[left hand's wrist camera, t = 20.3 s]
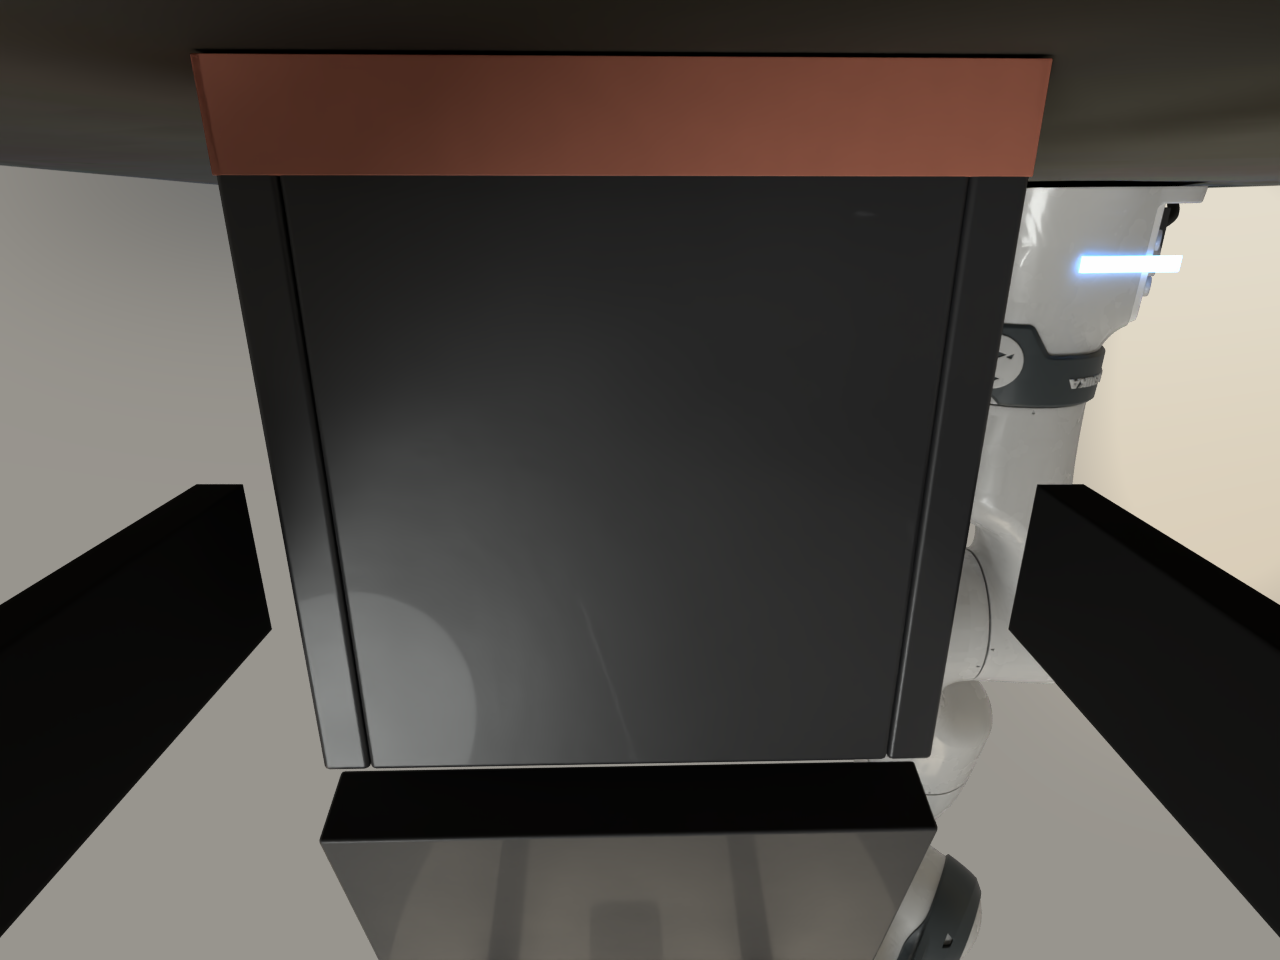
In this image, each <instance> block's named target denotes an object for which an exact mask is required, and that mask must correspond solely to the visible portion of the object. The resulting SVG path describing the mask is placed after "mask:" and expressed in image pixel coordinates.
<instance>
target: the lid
mask: <svg viewBox="0 0 1280 960" xmlns="http://www.w3.org/2000/svg"><path fill="white" fill-rule="evenodd" d="M936 831H937V825H936V822H935V819H934V816H933V813H932V811H931V808H930V805H929V802H928V799H927V797H926V794H925V791H924V788H923V786H922V783H921V780H920V777H919V774H918V772H917V769H916V766H915V763H914V762H912V761H888V762H834V763H779V764H725V765H671V766H618V767H562V768H507V769H453V770H399V771H345V772H342V774H341V776H340V779H339V782H338V785H337V788H336V791H335V794H334V797H333V801H332V804H331V807H330V810H329V813H328V816H327V819H326V822H325V825H324V828H323V831H322V834H321V837H320V844H321V846H322V848H323V850H324V852H325V854H326V856H327V858H328V860H329V862H330V864H331V866H332V868H333V870H334V872H335V874H336V876H337V878H338V880H339V882H340V884H341V886H342V888H343V890H344V892H345V894H346V896H347V898H348V900H349V902H350V904H351V906H352V908H353V910H354V912H355V914H356V916H357V917H358V920H359V921H360V924H361V925H362V928H363V930H364V931H365V933H366V935H367V937H368V939H369V941H370V943H371V945H372V947H373V949H374V951H375V953H376V955H377V957H378V959H379V960H874V958H875V956H876V954H877V952H878V950H879V948H880V946H881V944H882V942H883V940H884V938H885V936H886V934H887V932H888V930H889V928H890V926H891V924H892V922H893V920H894V917H895V915H896V913H897V911H898V909H899V907H900V905H901V903H902V901H903V899H904V897H905V895H906V893H907V891H908V889H909V887H910V885H911V883H912V881H913V879H914V877H915V874H916V872H917V870H918V868H919V866H920V864H921V862H922V860H923V858H924V856H925V854H926V852H927V850H928V848H929V846H930V844H931V841H932V840H933V838H934V836H935V833H936Z"/></svg>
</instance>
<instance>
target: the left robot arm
mask: <svg viewBox="0 0 1280 960" xmlns="http://www.w3.org/2000/svg"><path fill="white" fill-rule="evenodd" d="M271 630H272V628H271V623H270V618H269V613H268V608H267V603H266V598H265V593H264V588H263V583H262V578H261V573H260V568H259V563H258V558H257V553H256V548H255V543H254V538H253V533H252V528H251V523H250V518H249V513H248V508H247V503H246V498H245V493H244V488H243V485H242V484H196V485H195V486H193V487H191V488H190V489H188V490H187V491H185V492H183V493H182V494H180V495H178V496H177V497H175V498H173V499H172V500H170V501H169V502H167V503H165V504H164V505H162V506H160V507H159V508H157V509H156V510H154V511H152V512H151V513H149V514H148V515H146V516H144V517H143V518H141V519H139V520H138V521H136V522H134V523H133V524H131V525H130V526H128V527H126V528H125V529H123V530H121V531H120V532H118V533H117V534H115V535H113V536H112V537H110V538H108V539H107V540H105V541H104V542H102V543H100V544H99V545H97V546H95V547H94V548H92V549H90V550H89V551H87V552H86V553H84V554H82V555H81V556H79V557H78V558H76V559H74V560H73V561H71V562H69V563H68V564H66V565H65V566H63V567H61V568H60V569H58V570H56V571H55V572H53V573H52V574H50V575H48V576H47V577H45V578H43V579H42V580H40V581H39V582H37V583H35V584H34V585H32V586H30V587H29V588H27V589H25V590H24V591H22V592H21V593H19V594H17V595H16V596H14V597H12V598H11V599H9V600H8V601H6V602H4V603H3V604H1V605H0V937H1V936H2V935H3V934H4V933H5V931H6V930H7V929H8V928H9V927H10V926H11V925H12V923H13V922H14V921H15V920H16V919H17V918H18V917H19V915H20V914H21V913H22V912H23V911H24V910H25V909H26V907H27V906H28V905H29V904H30V903H31V902H32V901H33V900H34V898H35V897H36V896H37V895H38V894H39V893H40V892H41V891H42V889H43V888H44V887H45V886H46V885H47V884H48V883H49V881H50V880H51V879H52V878H53V877H54V876H55V875H56V874H57V872H58V871H59V870H60V869H61V868H62V867H63V866H64V864H65V863H66V862H67V861H68V860H69V859H70V858H71V856H72V855H73V854H74V853H75V852H76V851H77V850H78V849H79V847H80V846H81V845H82V844H83V843H84V842H85V841H86V840H87V838H88V837H89V836H90V835H91V834H92V833H93V832H94V830H95V829H96V828H97V827H98V826H99V825H100V824H101V822H102V821H103V820H104V819H105V818H106V817H107V816H108V815H109V813H110V812H111V811H112V810H113V809H114V808H115V807H116V805H117V804H118V803H119V802H120V801H121V800H122V799H123V798H124V796H125V795H126V794H127V793H128V792H129V791H130V790H131V788H132V787H133V786H134V785H135V784H136V783H137V782H138V781H139V779H140V778H141V777H142V776H143V775H144V774H145V773H146V771H147V770H148V769H149V768H150V767H151V766H152V765H153V763H154V762H155V761H156V760H157V759H158V758H159V757H160V756H161V754H162V753H163V752H164V751H165V750H166V749H167V748H168V747H169V745H170V744H171V743H172V742H173V741H174V740H175V739H176V737H177V736H178V735H179V734H180V733H181V732H182V731H183V729H184V728H185V727H186V726H187V725H188V724H189V723H190V722H191V720H192V719H193V718H194V717H195V716H196V715H197V714H198V712H199V711H200V710H201V709H202V708H203V707H204V706H205V704H206V703H207V702H208V701H209V700H210V699H211V698H212V697H213V695H214V694H215V693H216V692H217V691H218V690H219V689H220V688H221V686H222V685H223V684H224V683H225V682H226V681H227V680H228V678H229V677H230V676H231V675H232V674H233V673H234V672H235V670H236V669H237V668H238V667H239V666H240V665H241V664H242V663H243V661H244V660H245V659H246V658H247V657H248V656H249V655H250V653H251V652H252V651H253V650H254V649H255V648H256V647H257V646H258V644H259V643H260V642H261V641H262V640H263V639H264V638H265V636H266V635H267V634H268V633H269V632H270V631H271ZM1008 630H1009V631H1010V632H1011V633H1012V634H1013V635H1014V636H1015V638H1016V639H1017V640H1018V641H1019V642H1020V643H1021V644H1022V646H1023V647H1024V648H1025V649H1026V650H1027V651H1028V652H1029V653H1030V655H1031V656H1032V657H1033V658H1034V659H1035V660H1036V661H1037V663H1038V664H1039V665H1040V666H1041V667H1042V668H1043V669H1044V671H1045V672H1046V673H1047V674H1048V675H1049V676H1050V677H1051V678H1052V680H1053V681H1054V682H1055V683H1056V684H1057V685H1058V686H1059V688H1060V689H1061V690H1062V691H1063V692H1064V693H1065V694H1066V695H1067V697H1068V698H1069V699H1070V700H1071V701H1072V702H1073V703H1074V705H1075V706H1076V707H1077V708H1078V709H1079V710H1080V711H1081V712H1082V714H1083V715H1084V716H1085V717H1086V718H1087V719H1088V720H1089V722H1090V723H1091V724H1092V725H1093V726H1094V727H1095V728H1096V729H1097V731H1098V732H1099V733H1100V734H1101V735H1102V736H1103V737H1104V739H1105V740H1106V741H1107V742H1108V743H1109V744H1110V745H1111V746H1112V748H1113V749H1114V750H1115V751H1116V752H1117V753H1118V754H1119V756H1120V757H1121V758H1122V759H1123V760H1124V761H1125V762H1126V763H1127V765H1128V766H1129V767H1130V768H1131V769H1132V770H1133V771H1134V773H1135V774H1136V775H1137V776H1138V777H1139V778H1140V779H1141V781H1142V782H1143V783H1144V784H1145V785H1146V786H1147V787H1148V788H1149V790H1150V791H1151V792H1152V793H1153V794H1154V795H1155V796H1156V798H1157V799H1158V800H1159V801H1160V802H1161V803H1162V804H1163V805H1164V807H1165V808H1166V809H1167V810H1168V811H1169V812H1170V813H1171V814H1172V816H1173V817H1174V818H1175V819H1176V820H1177V821H1178V822H1179V824H1180V825H1181V826H1182V827H1183V828H1184V829H1185V830H1186V832H1187V833H1188V834H1189V835H1190V836H1191V837H1192V838H1193V839H1194V841H1195V842H1196V843H1197V844H1198V845H1199V846H1200V847H1201V849H1202V850H1203V851H1204V852H1205V853H1206V854H1207V855H1208V856H1209V858H1210V859H1211V860H1212V861H1213V862H1214V863H1215V864H1216V866H1217V867H1218V868H1219V869H1220V870H1221V871H1222V872H1223V874H1224V875H1225V876H1226V877H1227V878H1228V879H1229V880H1230V881H1231V883H1232V884H1233V885H1234V886H1235V887H1236V888H1237V889H1238V890H1239V892H1240V893H1241V894H1242V895H1243V896H1244V897H1245V898H1246V900H1247V901H1248V902H1249V903H1250V904H1251V905H1252V906H1253V908H1254V909H1255V910H1256V911H1257V912H1258V913H1259V914H1260V916H1261V917H1262V918H1263V919H1264V920H1265V921H1266V922H1267V923H1268V925H1269V926H1270V927H1271V928H1272V929H1273V930H1274V931H1275V933H1276V934H1277V935H1278V936H1279V937H1280V605H1279V604H1277V603H1276V602H1274V601H1272V600H1271V599H1269V598H1268V597H1266V596H1264V595H1263V594H1261V593H1259V592H1258V591H1256V590H1255V589H1253V588H1251V587H1250V586H1248V585H1246V584H1245V583H1243V582H1242V581H1240V580H1238V579H1237V578H1235V577H1233V576H1232V575H1230V574H1229V573H1227V572H1225V571H1224V570H1222V569H1220V568H1219V567H1217V566H1216V565H1214V564H1212V563H1211V562H1209V561H1207V560H1206V559H1204V558H1202V557H1201V556H1199V555H1198V554H1196V553H1194V552H1193V551H1191V550H1189V549H1188V548H1186V547H1185V546H1183V545H1181V544H1180V543H1178V542H1176V541H1175V540H1173V539H1172V538H1170V537H1168V536H1167V535H1165V534H1163V533H1162V532H1160V531H1159V530H1157V529H1155V528H1154V527H1152V526H1150V525H1149V524H1147V523H1146V522H1144V521H1142V520H1141V519H1139V518H1137V517H1136V516H1134V515H1133V514H1131V513H1129V512H1128V511H1126V510H1124V509H1123V508H1121V507H1120V506H1118V505H1116V504H1115V503H1113V502H1111V501H1110V500H1108V499H1107V498H1105V497H1103V496H1102V495H1100V494H1098V493H1097V492H1095V491H1094V490H1092V489H1090V488H1089V487H1087V486H1085V485H1084V484H1037V488H1036V493H1035V498H1034V503H1033V508H1032V513H1031V518H1030V523H1029V528H1028V533H1027V538H1026V543H1025V548H1024V553H1023V558H1022V563H1021V568H1020V573H1019V578H1018V583H1017V588H1016V593H1015V598H1014V603H1013V608H1012V613H1011V618H1010V623H1009V628H1008Z"/></svg>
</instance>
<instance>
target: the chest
mask: <svg viewBox="0 0 1280 960" xmlns="http://www.w3.org/2000/svg"><path fill="white" fill-rule="evenodd" d="M190 56H191V62H192V67H193V73H194V78H195V83H196V89H197V94H198V100H199V105H200V110H201V116H202V121H203V127H204V132H205V137H206V143H207V148H208V154H209V159H210V164H211V170H212V174H213V175H217V180H218V185H219V190H220V196H221V201H222V207H223V212H224V218H225V223H226V229H227V234H228V240H229V245H230V251H231V256H232V261H233V267H234V272H235V278H236V283H237V289H238V294H239V300H240V305H241V311H242V316H243V321H244V327H245V332H246V338H247V343H248V349H249V354H250V360H251V365H252V370H253V376H254V381H255V387H256V392H257V398H258V403H259V408H260V414H261V420H262V425H263V431H264V436H265V441H266V447H267V452H268V458H269V463H270V469H271V474H272V480H273V485H274V490H275V496H276V501H277V507H278V512H279V518H280V523H281V529H282V534H283V540H284V545H285V550H286V556H287V561H288V567H289V572H290V578H291V583H292V589H293V594H294V600H295V605H296V611H297V616H298V621H299V627H300V632H301V638H302V643H303V649H304V654H305V660H306V665H307V670H308V676H309V681H310V687H311V692H312V698H313V703H314V709H315V714H316V720H317V725H318V730H319V736H320V741H321V747H322V752H323V758H324V763H325V766H326V768H328V769H363V768H367V767H369V766H370V764H371V765H372V766H373V767H374V768H417V767H472V766H527V765H581V764H635V763H691V762H744V761H800V760H855V759H883V758H885V756H886V754H887V756H888V757H889V758H892V759H909V758H928V757H930V755H931V750H932V744H933V739H934V733H935V727H936V721H937V715H938V709H939V703H940V697H941V691H942V685H943V679H944V674H945V668H946V662H947V656H948V650H949V644H950V638H951V632H952V626H953V620H954V615H955V609H956V603H957V597H958V591H959V585H960V579H961V573H962V567H963V561H964V555H965V550H966V544H967V538H968V532H969V526H970V520H971V514H972V508H973V502H974V496H975V490H976V485H977V479H978V473H979V467H980V461H981V455H982V449H983V443H984V437H985V431H986V425H987V420H988V414H989V408H990V402H991V396H992V390H993V384H994V378H995V372H996V366H997V360H998V355H999V349H1000V343H1001V337H1002V331H1003V325H1004V319H1005V313H1006V307H1007V301H1008V296H1009V290H1010V284H1011V278H1012V272H1013V266H1014V260H1015V254H1016V248H1017V242H1018V236H1019V231H1020V225H1021V219H1022V213H1023V207H1024V201H1025V195H1026V189H1027V183H1028V177H1032V176H1033V172H1034V166H1035V160H1036V154H1037V148H1038V142H1039V137H1040V131H1041V125H1042V119H1043V113H1044V107H1045V101H1046V96H1047V90H1048V84H1049V78H1050V72H1051V66H1052V61H1053V59H1052V58H920V57H750V56H579V55H409V54H239V53H191V54H190Z"/></svg>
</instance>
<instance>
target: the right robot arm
mask: <svg viewBox="0 0 1280 960" xmlns="http://www.w3.org/2000/svg"><path fill="white" fill-rule="evenodd" d="M1207 188H1208V186H1161V187H1054V188H1027V189H1026V195H1025V201H1024V207H1023V213H1022V219H1021V225H1020V231H1019V236H1018V242H1017V248H1016V254H1015V260H1014V266H1013V272H1012V278H1011V284H1010V290H1009V296H1008V301H1007V307H1006V313H1005V319H1004V325H1003V331H1002V337H1001V343H1000V349H999V355H998V360H997V366H996V372H995V378H994V384H993V390H992V396H991V402H990V408H989V414H988V420H987V425H986V431H985V437H984V443H983V449H982V455H981V461H980V467H979V473H978V479H977V485H976V490H975V496H974V502H973V508H972V514H971V520H970V523H972V524H974V525H975V536H974V540H973V543H972V544H971V546H970V547H966V550H965V555H964V561H963V567H962V573H961V579H960V585H959V591H958V597H957V603H956V609H955V615H954V620H953V626H952V632H951V638H950V644H949V650H948V656H947V662H946V668H945V674H944V679H943V685H942V691H941V697H940V703H939V709H938V715H937V721H936V727H935V733H934V739H933V744H932V750H931V755H930V757H928V758H909V759H892V758H889V757H888V756H887V754H886V756H885V758H883V759H855V760H854V762H888V761H912V762H914V763H915V766H916V769H917V772H918V774H919V777H920V780H921V783H922V786H923V788H924V791H925V794H926V797H927V799H928V802H929V805H930V808H931V811H932V813H933V816H934V819H935V820H936V819H937V818H938V817H939V816H941V815H942V814H943V813H944V812H945V811H946V809H947V808H948V807H949V806H950V805H951V804H952V803H953V801H954V800H955V799H956V798H957V796H958V795H959V793H960V792H961V790H962V789H963V787H964V785H965V784H966V782H967V780H968V778H969V776H970V774H971V772H972V770H973V768H974V766H975V763H976V761H977V759H978V757H979V755H980V753H981V751H982V749H983V747H984V745H985V743H986V740H987V738H988V736H989V734H990V731H991V728H992V709H991V704H990V701H989V698H988V696H987V693H986V691H985V690H984V688H983V686H982V685H981V684H980V682H979V681H996V682H1020V683H1043V684H1051V683H1055V682H1054V681H1053V680H1052V678H1051V677H1050V676H1049V675H1048V674H1047V673H1046V672H1045V671H1044V669H1043V668H1042V667H1041V666H1040V665H1039V664H1038V663H1037V661H1036V660H1035V659H1034V658H1033V657H1032V656H1031V655H1030V653H1029V652H1028V651H1027V650H1026V649H1025V648H1024V647H1023V646H1022V644H1021V643H1020V642H1019V641H1018V640H1017V639H1016V638H1015V636H1014V635H1013V634H1012V633H1011V632H1010V631H1009V630H1008V628H1009V623H1010V618H1011V613H1012V608H1013V603H1014V598H1015V593H1016V588H1017V583H1018V578H1019V573H1020V568H1021V563H1022V558H1023V553H1024V548H1025V543H1026V538H1027V533H1028V528H1029V523H1030V518H1031V513H1032V508H1033V503H1034V498H1035V493H1036V488H1037V484H1072V482H1073V473H1074V465H1075V459H1076V453H1077V446H1078V441H1079V435H1080V430H1081V424H1082V419H1083V414H1084V409H1085V405H1086V402H1087V401H1089V400H1091V399H1092V398H1093V397H1094V394H1095V391H1096V387H1097V384H1098V382H1100V378H1101V375H1102V363H1103V359H1104V355H1105V348H1104V347H1103V346H1102V344H1103V343H1104V342H1105V341H1106V340H1107V338H1108V337H1109V336H1110V335H1111V334H1113V333H1114V332H1115V331H1117V330H1118V329H1120V328H1122V327H1124V326H1126V325H1127V324H1128V323H1129V322H1132V321H1134V320H1135V319H1136V317H1137V315H1138V311H1139V307H1140V303H1141V299H1142V296H1147V295H1148V293H1149V290H1150V286H1151V281H1152V277H1151V276H1154V274H1155V272H1179V268H1180V264H1181V260H1182V256H1179V255H1176V256H1160V252H1161V248H1162V243H1163V239H1164V235H1165V231H1166V227H1167V226H1169V225H1170V224H1171V223H1173V222H1174V221H1175V220H1176V219H1177V217H1178V215H1179V210H1180V207H1179V203H1201V202H1202V201H1203V199H1204V196H1205V194H1206V191H1207ZM1166 203H1167V207H1166V208H1165V204H1166ZM980 898H981V890H980V887H979V884H978V881H977V878H976V877H975V876H974V875H973V874H972V873H971V872H970V871H969V870H968V869H967V868H966V867H964V866H963V865H962V864H961V863H959V862H958V861H957V860H956V859H954V858H953V857H952V856H950V855H949V854H948V855H946V856H944V855H943V854H942V853H940V852H939V851H937V850H936V849H935V848H933V847H932V846H929V848H928V850H927V852H926V854H925V856H924V858H923V860H922V862H921V864H920V866H919V868H918V870H917V872H916V874H915V877H914V879H913V881H912V883H911V885H910V887H909V889H908V891H907V893H906V895H905V897H904V899H903V901H902V903H901V905H900V907H899V909H898V911H897V913H896V915H895V917H894V920H893V922H892V924H891V926H890V928H889V930H888V932H887V934H886V936H885V938H884V940H883V942H882V944H881V946H880V948H879V950H878V952H877V954H876V956H875V958H874V960H960V959H962V958H963V957H964V956H965V955H966V954H967V953H968V952H969V950H970V949H971V948H972V946H973V944H974V943H975V941H976V939H977V936H978V933H979V930H980V924H981V913H982V912H981V901H980Z"/></svg>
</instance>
